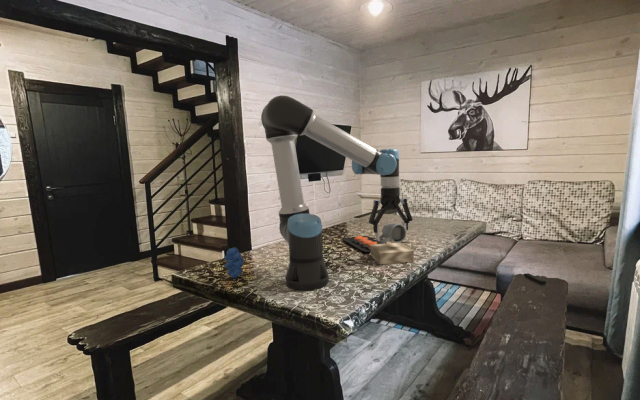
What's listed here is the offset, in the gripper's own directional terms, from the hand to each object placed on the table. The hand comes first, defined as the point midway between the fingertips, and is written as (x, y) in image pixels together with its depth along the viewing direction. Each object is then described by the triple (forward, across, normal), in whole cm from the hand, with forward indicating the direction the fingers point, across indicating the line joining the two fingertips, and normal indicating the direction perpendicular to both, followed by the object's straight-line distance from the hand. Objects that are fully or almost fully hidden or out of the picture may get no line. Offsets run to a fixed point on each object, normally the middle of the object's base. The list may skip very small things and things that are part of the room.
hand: (391, 239), depth 139 cm
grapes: (+8, +63, +6) cm, 64 cm away
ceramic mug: (+1, 0, 0) cm, 1 cm away
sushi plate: (+9, -4, -25) cm, 26 cm away
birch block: (+9, 0, 0) cm, 9 cm away
